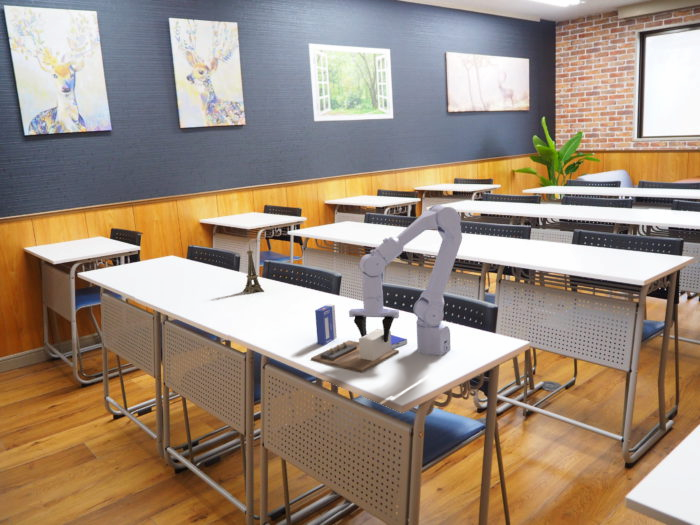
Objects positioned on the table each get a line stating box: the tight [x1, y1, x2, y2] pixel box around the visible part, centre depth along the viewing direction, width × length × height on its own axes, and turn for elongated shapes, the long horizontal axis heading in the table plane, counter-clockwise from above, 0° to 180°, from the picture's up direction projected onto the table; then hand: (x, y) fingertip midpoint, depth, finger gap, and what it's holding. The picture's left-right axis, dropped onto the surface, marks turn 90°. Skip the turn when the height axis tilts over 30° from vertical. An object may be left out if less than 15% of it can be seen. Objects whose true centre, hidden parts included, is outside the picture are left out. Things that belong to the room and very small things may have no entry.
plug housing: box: [358, 328, 392, 361], centre depth 168 cm, size 5×10×6 cm, turn 145°
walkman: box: [314, 303, 338, 346], centre depth 183 cm, size 8×3×12 cm, turn 152°
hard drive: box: [391, 334, 408, 349], centre depth 180 cm, size 2×8×12 cm
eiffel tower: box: [242, 244, 265, 295], centre depth 247 cm, size 11×11×25 cm
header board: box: [310, 340, 400, 373], centre depth 169 cm, size 19×18×3 cm
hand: (375, 340), depth 168 cm, fingers open, 6 cm apart
